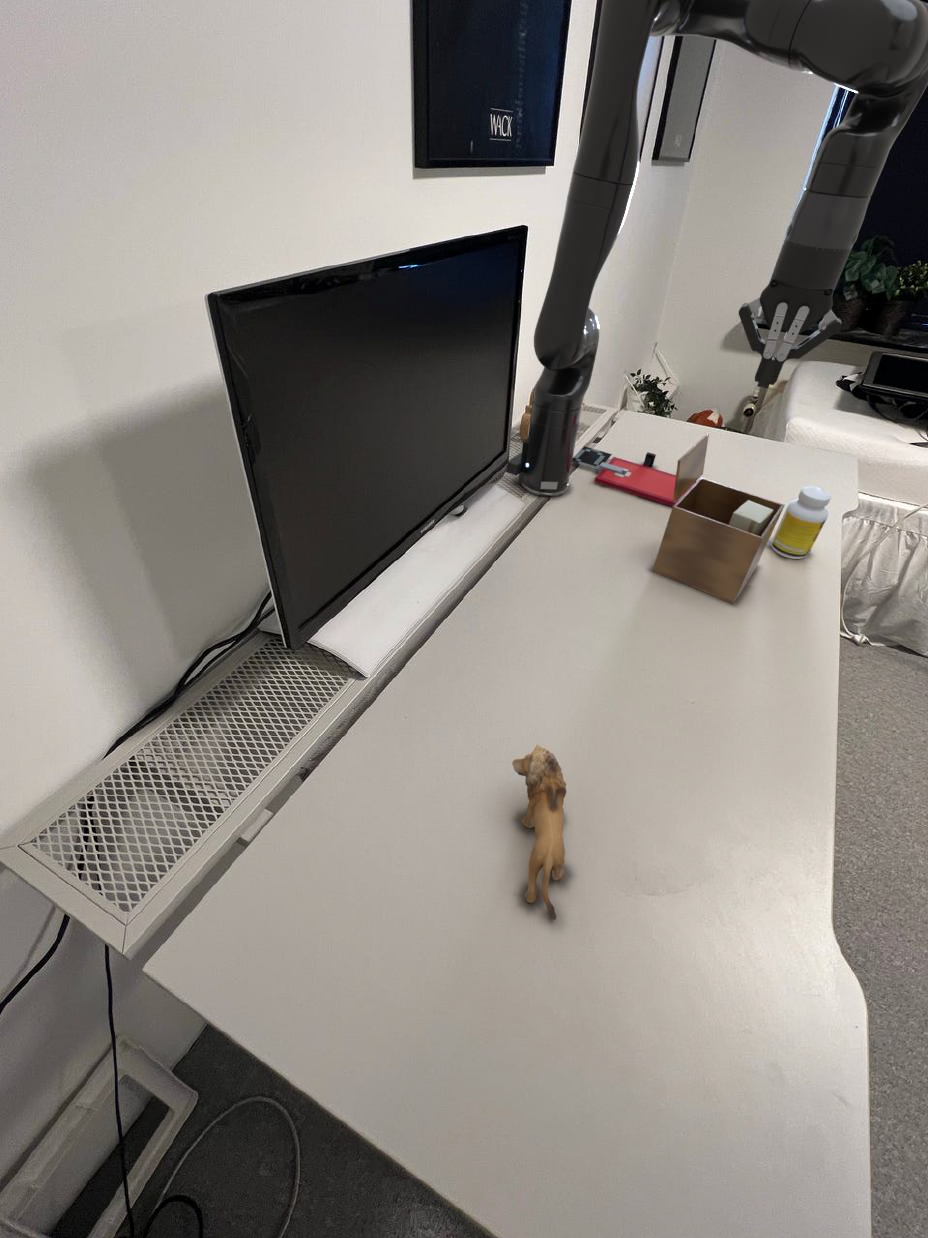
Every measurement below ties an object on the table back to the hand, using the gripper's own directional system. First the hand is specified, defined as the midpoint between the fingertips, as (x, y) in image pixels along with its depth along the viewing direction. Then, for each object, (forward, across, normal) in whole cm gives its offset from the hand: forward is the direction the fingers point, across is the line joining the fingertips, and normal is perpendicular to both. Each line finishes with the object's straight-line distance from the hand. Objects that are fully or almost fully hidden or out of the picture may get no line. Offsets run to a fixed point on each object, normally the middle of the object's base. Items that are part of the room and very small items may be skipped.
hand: (762, 385), depth 82 cm
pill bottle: (+31, -15, -13) cm, 37 cm away
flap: (+14, +5, -1) cm, 15 cm away
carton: (+31, -2, 0) cm, 31 cm away
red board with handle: (+31, +15, -26) cm, 43 cm away
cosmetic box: (+30, -6, +1) cm, 31 cm away
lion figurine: (+31, +7, +61) cm, 69 cm away
